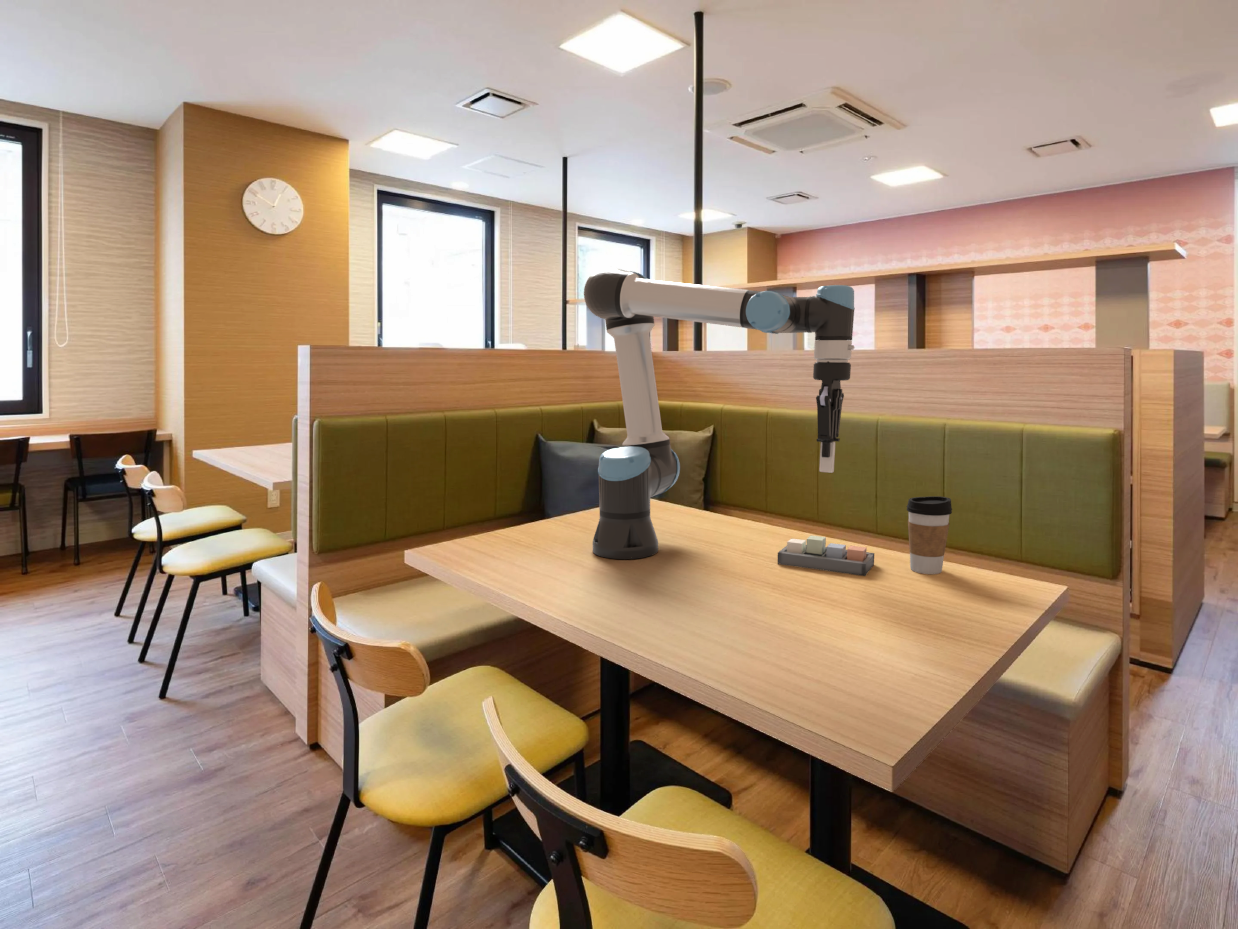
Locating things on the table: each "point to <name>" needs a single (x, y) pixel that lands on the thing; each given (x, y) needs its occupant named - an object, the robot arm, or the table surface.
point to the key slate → (836, 551)
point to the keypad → (826, 562)
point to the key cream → (796, 546)
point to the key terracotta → (856, 553)
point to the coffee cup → (928, 532)
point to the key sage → (816, 544)
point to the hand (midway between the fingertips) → (826, 471)
